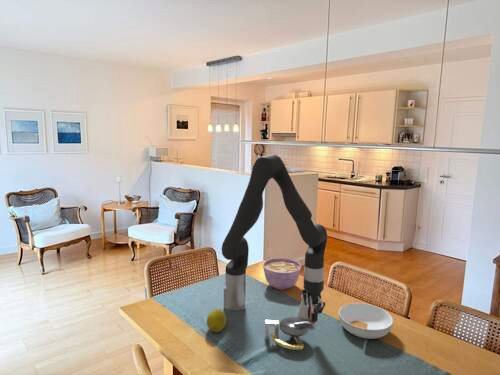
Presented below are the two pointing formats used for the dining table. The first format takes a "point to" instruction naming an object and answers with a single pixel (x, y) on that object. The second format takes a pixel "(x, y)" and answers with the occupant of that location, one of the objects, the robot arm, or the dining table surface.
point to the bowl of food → (281, 272)
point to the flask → (303, 310)
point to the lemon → (216, 320)
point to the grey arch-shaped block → (271, 323)
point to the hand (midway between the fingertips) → (312, 319)
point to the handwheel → (293, 331)
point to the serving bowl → (366, 320)
